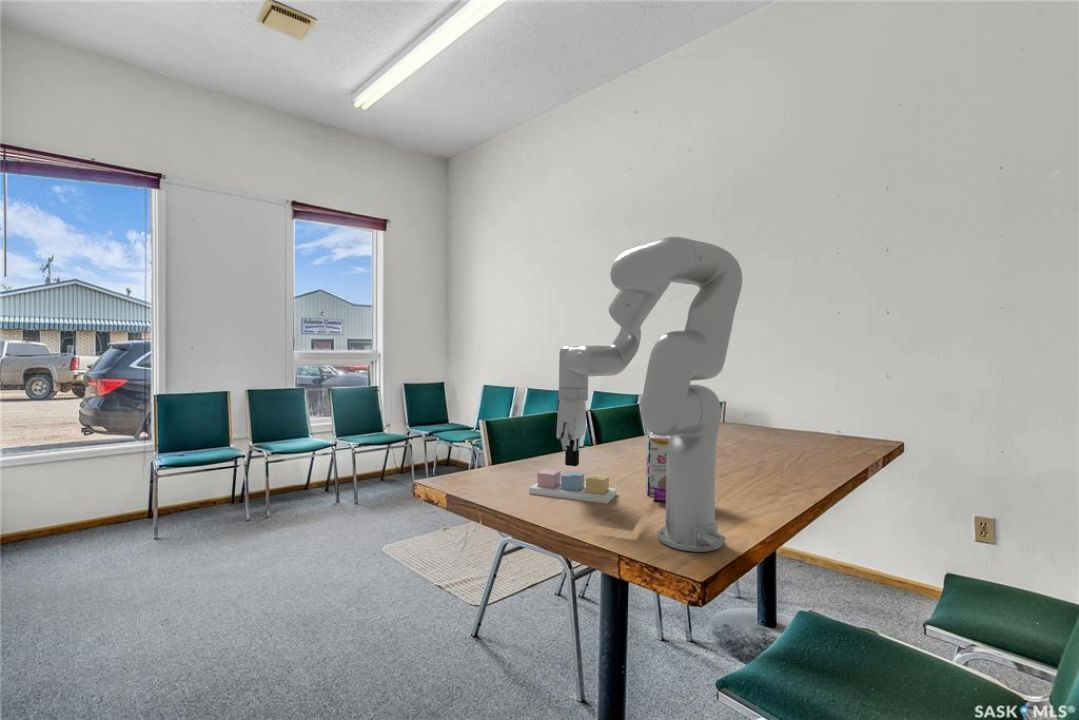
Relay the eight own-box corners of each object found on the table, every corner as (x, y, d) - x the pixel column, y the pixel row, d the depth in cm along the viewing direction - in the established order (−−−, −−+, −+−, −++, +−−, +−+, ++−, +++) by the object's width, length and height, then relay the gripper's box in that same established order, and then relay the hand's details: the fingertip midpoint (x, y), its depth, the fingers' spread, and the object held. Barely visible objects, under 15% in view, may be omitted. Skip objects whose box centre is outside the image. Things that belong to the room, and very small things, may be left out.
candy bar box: (647, 502, 129) (648, 438, 129) (645, 496, 134) (645, 434, 134) (692, 504, 128) (693, 439, 128) (688, 498, 133) (689, 435, 133)
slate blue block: (584, 492, 132) (584, 473, 132) (578, 497, 128) (578, 477, 128) (567, 490, 134) (567, 471, 134) (561, 495, 130) (561, 475, 130)
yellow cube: (608, 495, 130) (608, 476, 130) (603, 500, 126) (603, 480, 125) (591, 493, 132) (591, 474, 131) (585, 498, 127) (586, 478, 127)
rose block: (560, 489, 135) (560, 471, 135) (553, 494, 131) (554, 474, 131) (544, 487, 137) (544, 469, 137) (537, 492, 133) (537, 473, 132)
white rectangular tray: (616, 500, 131) (616, 488, 131) (607, 509, 123) (607, 497, 123) (541, 490, 139) (541, 480, 139) (529, 499, 131) (529, 487, 131)
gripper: (569, 391, 139) (568, 458, 140) (548, 395, 125) (547, 470, 126) (595, 392, 136) (594, 460, 137) (577, 397, 122) (576, 473, 123)
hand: (572, 465), depth 131 cm, fingers closed
